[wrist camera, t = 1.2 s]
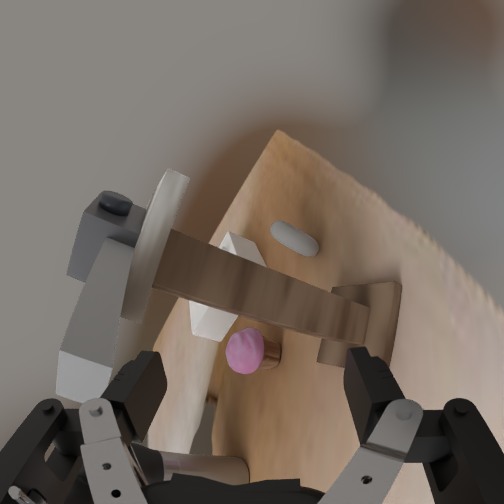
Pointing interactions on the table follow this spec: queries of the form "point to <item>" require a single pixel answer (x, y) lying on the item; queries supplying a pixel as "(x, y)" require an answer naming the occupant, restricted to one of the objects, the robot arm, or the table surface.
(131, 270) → the stand
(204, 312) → the tissue box
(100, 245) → the grey block with knob
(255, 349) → the cupcake
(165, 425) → the table surface
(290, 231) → the donut
